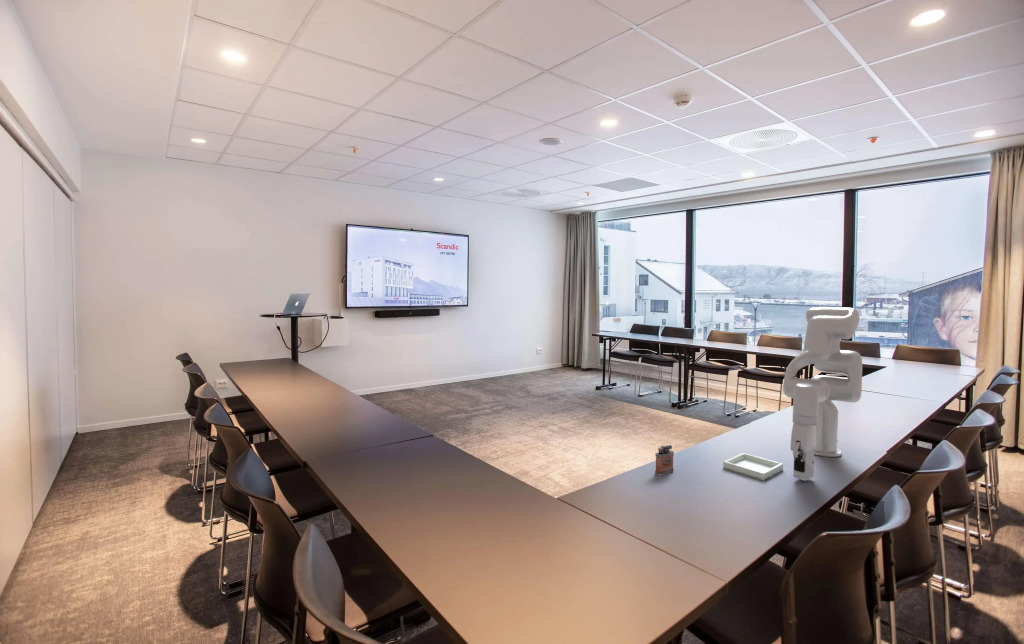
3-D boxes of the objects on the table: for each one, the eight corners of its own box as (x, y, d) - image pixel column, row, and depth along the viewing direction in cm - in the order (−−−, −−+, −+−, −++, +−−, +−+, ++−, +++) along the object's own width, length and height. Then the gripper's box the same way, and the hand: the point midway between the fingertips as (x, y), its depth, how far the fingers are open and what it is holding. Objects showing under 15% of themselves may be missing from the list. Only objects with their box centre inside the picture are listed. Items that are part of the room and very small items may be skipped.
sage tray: (743, 458, 190) (743, 452, 189) (783, 470, 178) (783, 463, 178) (723, 468, 181) (723, 461, 180) (763, 480, 169) (764, 473, 169)
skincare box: (805, 481, 165) (806, 447, 164) (792, 476, 169) (793, 443, 168) (814, 476, 169) (815, 443, 167) (801, 472, 172) (802, 440, 171)
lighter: (659, 476, 174) (660, 449, 173) (653, 472, 177) (653, 446, 176) (675, 471, 178) (676, 445, 177) (668, 468, 181) (669, 442, 180)
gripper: (803, 411, 175) (802, 459, 177) (782, 421, 165) (781, 472, 166) (827, 416, 169) (825, 465, 171) (806, 426, 159) (804, 478, 160)
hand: (803, 468), depth 168 cm, fingers closed on skincare box, 6 cm apart
